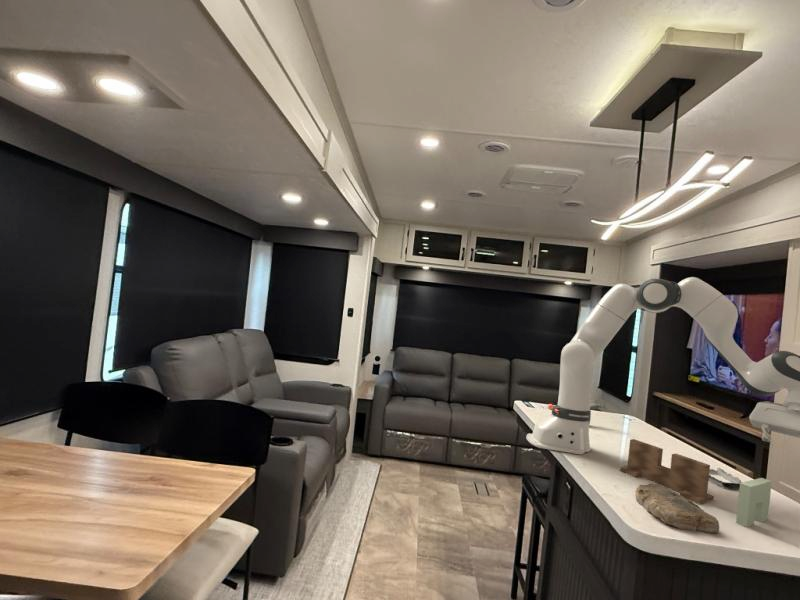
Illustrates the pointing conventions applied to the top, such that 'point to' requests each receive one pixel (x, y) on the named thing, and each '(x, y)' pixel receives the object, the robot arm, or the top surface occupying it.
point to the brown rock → (675, 509)
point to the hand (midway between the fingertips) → (786, 445)
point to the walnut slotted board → (669, 471)
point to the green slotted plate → (753, 501)
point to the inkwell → (596, 406)
